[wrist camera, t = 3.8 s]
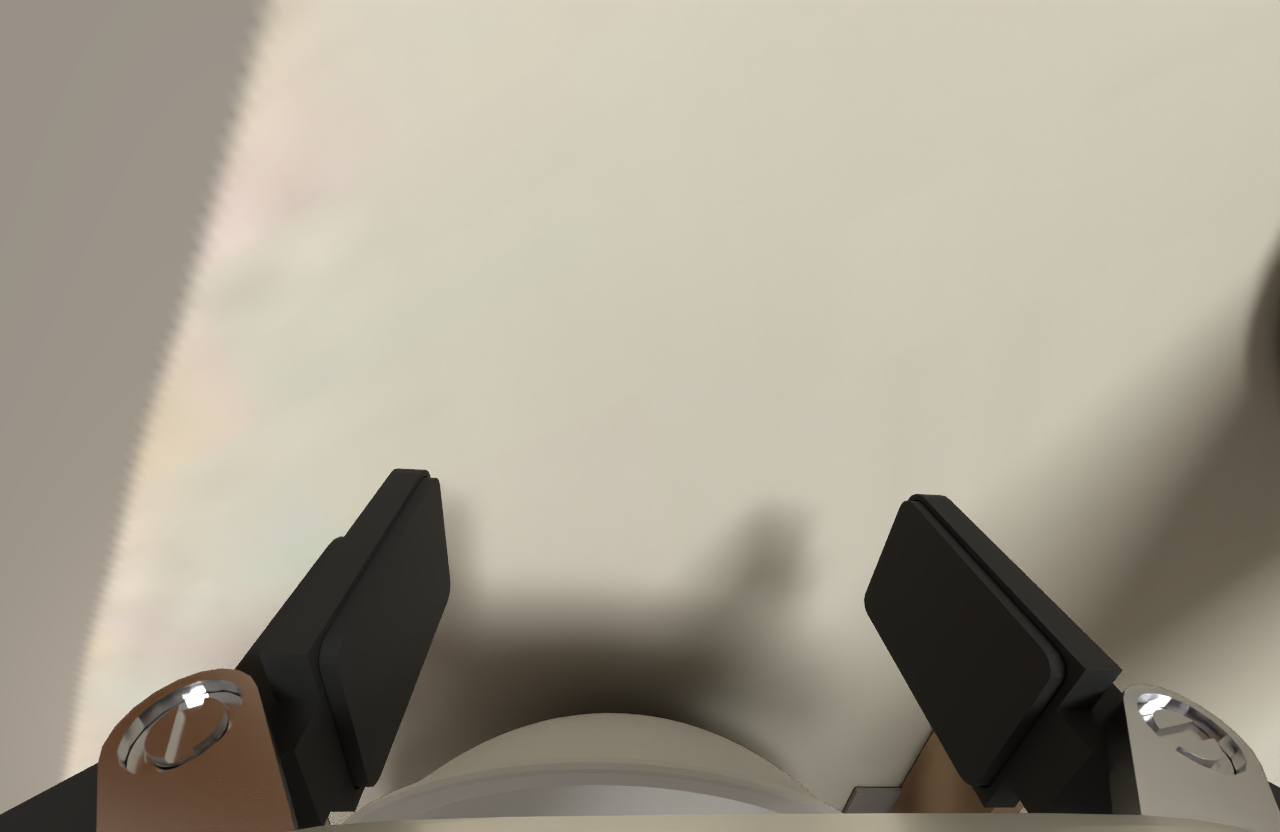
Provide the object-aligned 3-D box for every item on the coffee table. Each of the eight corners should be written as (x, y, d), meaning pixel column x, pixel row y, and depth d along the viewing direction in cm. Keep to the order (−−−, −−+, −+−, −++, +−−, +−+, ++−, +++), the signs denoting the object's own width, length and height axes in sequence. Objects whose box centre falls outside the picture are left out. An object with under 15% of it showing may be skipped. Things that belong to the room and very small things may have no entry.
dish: (924, 704, 19) (1020, 872, 14) (707, 870, 24) (728, 1031, 19) (488, 520, 14) (428, 685, 10) (338, 776, 19) (253, 960, 15)
